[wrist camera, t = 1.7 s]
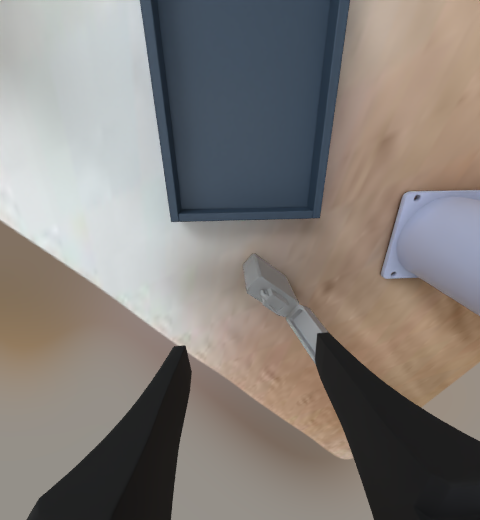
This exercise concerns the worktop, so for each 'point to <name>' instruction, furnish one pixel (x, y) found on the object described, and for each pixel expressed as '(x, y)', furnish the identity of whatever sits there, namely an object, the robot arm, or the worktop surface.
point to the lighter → (281, 300)
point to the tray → (244, 103)
